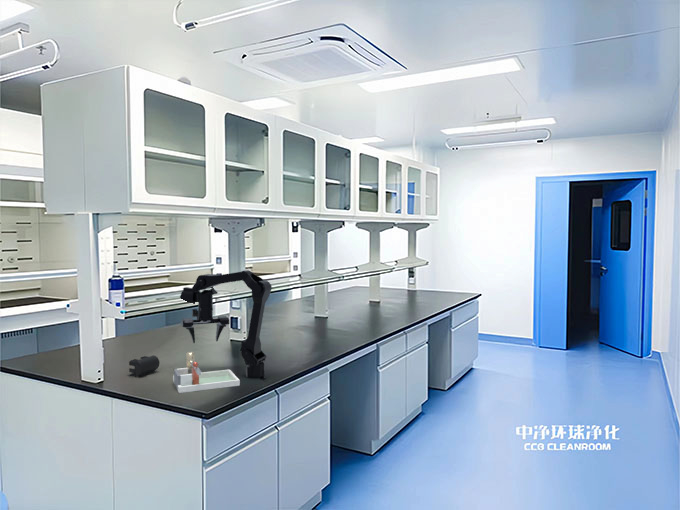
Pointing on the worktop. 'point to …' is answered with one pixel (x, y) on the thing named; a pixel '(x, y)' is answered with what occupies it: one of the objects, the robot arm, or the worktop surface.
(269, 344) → the worktop surface
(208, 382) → the pitch
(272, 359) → the worktop surface
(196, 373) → the cylinder
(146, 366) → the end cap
